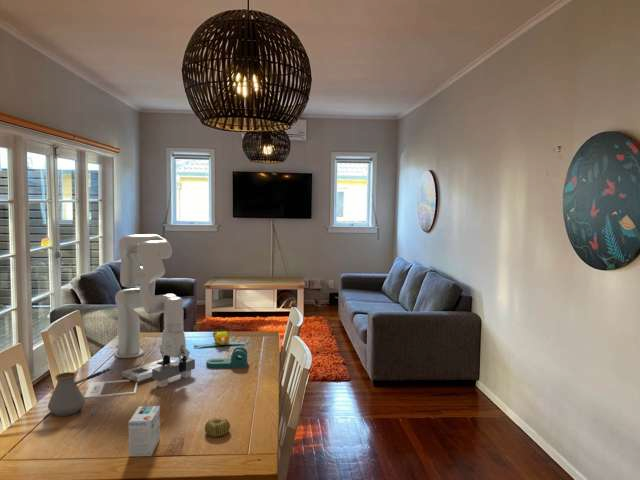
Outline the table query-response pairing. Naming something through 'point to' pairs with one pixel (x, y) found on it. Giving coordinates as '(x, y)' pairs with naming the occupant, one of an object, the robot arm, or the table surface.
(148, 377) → the mounting plate
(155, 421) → the light bulb box
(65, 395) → the coffee pot
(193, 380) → the table surface
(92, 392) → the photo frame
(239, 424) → the table surface
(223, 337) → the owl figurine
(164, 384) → the grey bar
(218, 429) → the sculpture
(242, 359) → the bracket
